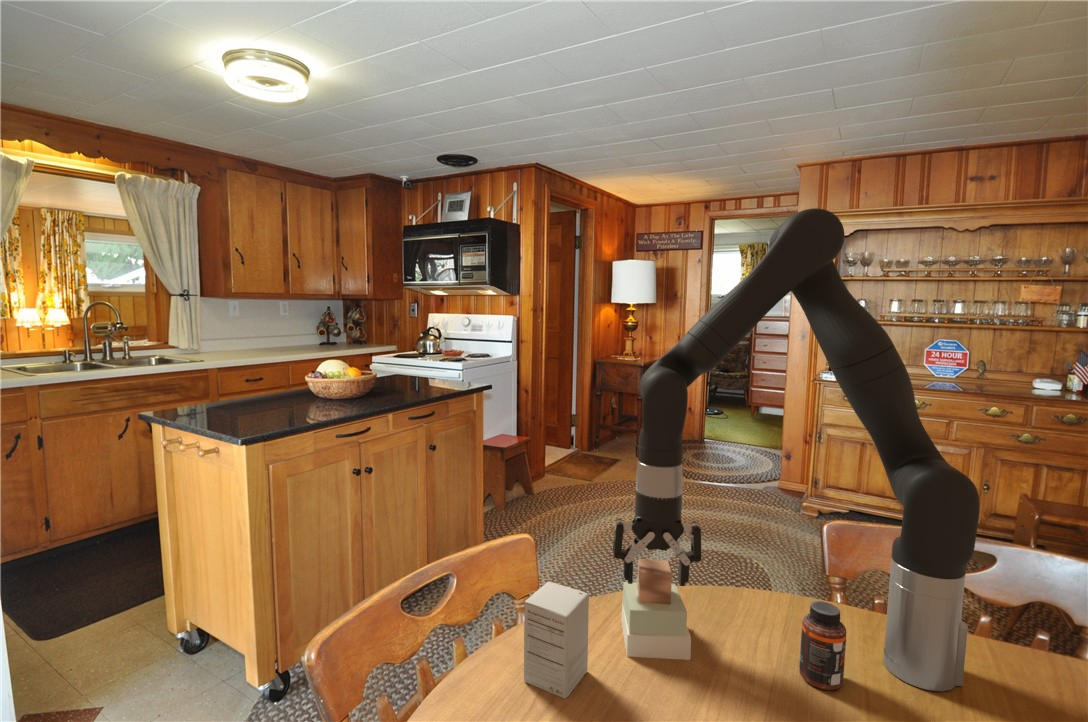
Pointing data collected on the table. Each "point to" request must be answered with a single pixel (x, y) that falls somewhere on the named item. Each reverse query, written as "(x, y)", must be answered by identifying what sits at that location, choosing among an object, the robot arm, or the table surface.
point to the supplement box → (556, 638)
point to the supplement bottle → (823, 646)
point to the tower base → (656, 644)
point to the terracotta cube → (654, 581)
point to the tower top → (654, 613)
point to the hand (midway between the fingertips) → (655, 582)
